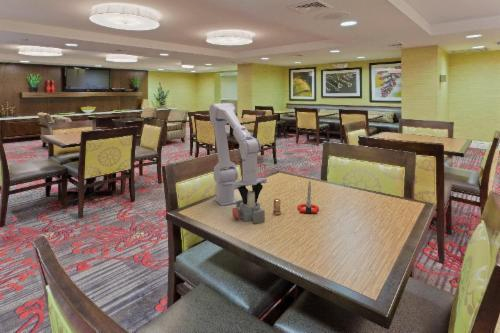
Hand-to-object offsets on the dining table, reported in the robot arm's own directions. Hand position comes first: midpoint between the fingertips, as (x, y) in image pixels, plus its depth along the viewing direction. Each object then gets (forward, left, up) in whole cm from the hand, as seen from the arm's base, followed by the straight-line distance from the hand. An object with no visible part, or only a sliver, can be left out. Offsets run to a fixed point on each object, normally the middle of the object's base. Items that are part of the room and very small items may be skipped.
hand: (249, 202), depth 129 cm
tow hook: (+6, +25, -6) cm, 26 cm away
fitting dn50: (0, 0, -2) cm, 2 cm away
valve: (0, -1, -6) cm, 6 cm away
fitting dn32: (+3, +11, -6) cm, 13 cm away
